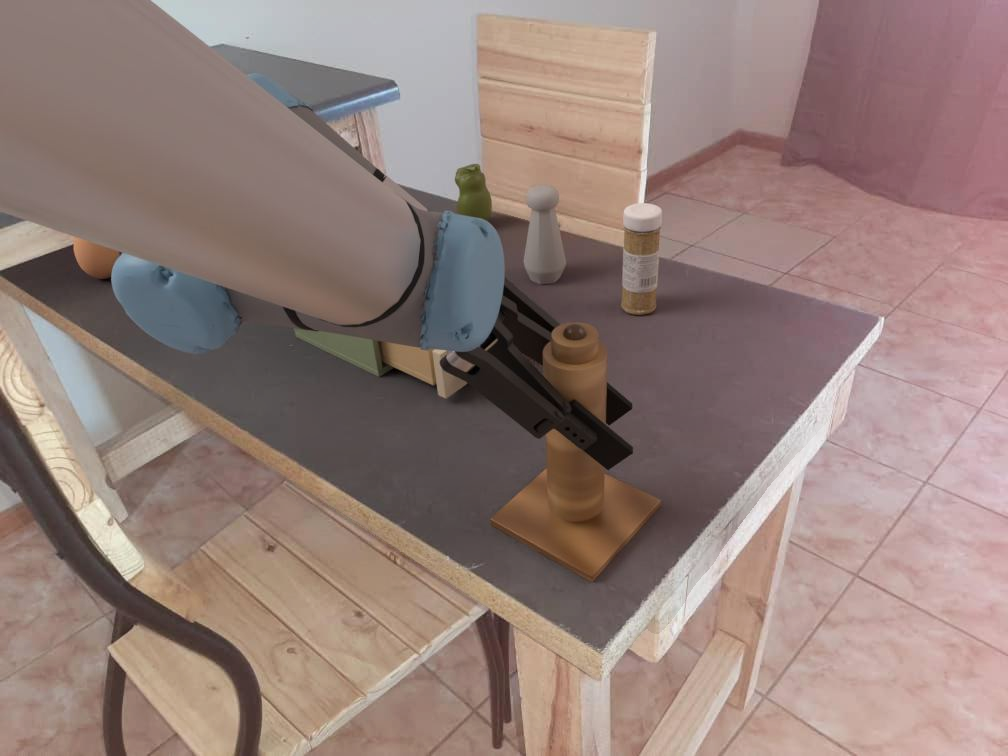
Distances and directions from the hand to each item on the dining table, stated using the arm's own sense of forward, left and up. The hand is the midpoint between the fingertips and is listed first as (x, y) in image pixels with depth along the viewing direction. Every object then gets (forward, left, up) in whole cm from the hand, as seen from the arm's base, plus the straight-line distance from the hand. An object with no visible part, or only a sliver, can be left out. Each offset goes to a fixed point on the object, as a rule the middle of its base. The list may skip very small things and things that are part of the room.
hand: (620, 435), depth 64 cm
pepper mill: (-2, +3, -8) cm, 9 cm away
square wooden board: (-2, +3, -9) cm, 10 cm away
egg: (-3, +88, -10) cm, 89 cm away
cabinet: (+10, +42, -9) cm, 44 cm away
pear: (+41, +53, -10) cm, 68 cm away
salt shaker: (+33, +33, -10) cm, 48 cm away
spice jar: (+33, +18, -10) cm, 39 cm away
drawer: (+10, +29, -9) cm, 32 cm away
